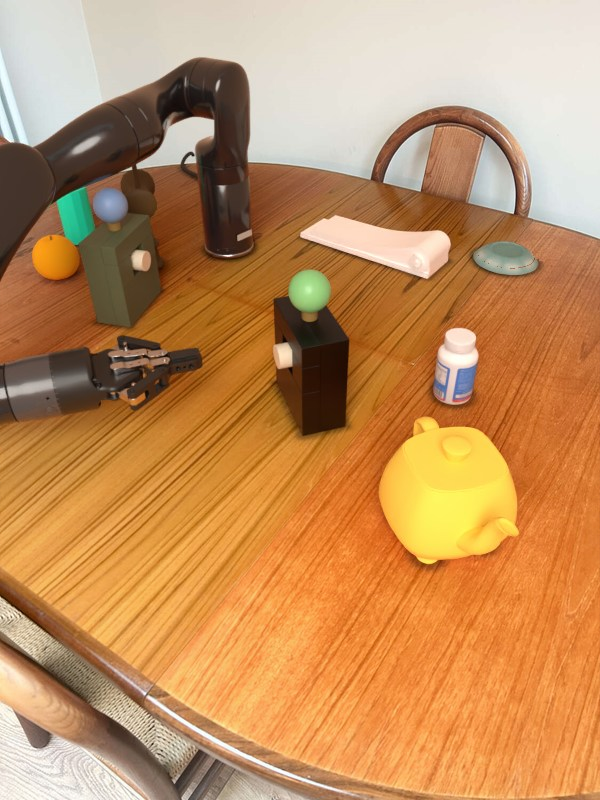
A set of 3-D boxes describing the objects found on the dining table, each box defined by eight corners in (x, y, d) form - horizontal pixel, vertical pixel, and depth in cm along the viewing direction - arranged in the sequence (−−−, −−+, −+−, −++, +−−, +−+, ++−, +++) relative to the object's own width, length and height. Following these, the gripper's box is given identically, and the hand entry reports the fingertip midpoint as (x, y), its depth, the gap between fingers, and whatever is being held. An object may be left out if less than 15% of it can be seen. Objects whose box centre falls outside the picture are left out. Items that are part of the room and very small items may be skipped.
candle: (89, 246, 128) (75, 186, 121) (60, 243, 129) (45, 184, 122) (102, 232, 133) (89, 174, 125) (74, 230, 134) (60, 172, 126)
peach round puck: (152, 265, 106) (149, 247, 104) (143, 274, 104) (140, 256, 102) (138, 263, 107) (135, 245, 105) (130, 273, 105) (126, 254, 102)
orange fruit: (35, 288, 116) (23, 249, 111) (40, 267, 122) (29, 229, 117) (81, 283, 117) (72, 244, 112) (84, 262, 123) (75, 225, 118)
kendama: (165, 253, 126) (149, 147, 113) (169, 276, 119) (152, 166, 106) (133, 256, 125) (113, 150, 112) (135, 281, 118) (114, 170, 105)
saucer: (469, 234, 126) (468, 245, 127) (481, 264, 117) (479, 275, 118) (531, 234, 125) (529, 245, 127) (548, 264, 116) (545, 275, 118)
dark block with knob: (302, 436, 86) (301, 301, 73) (276, 382, 94) (271, 253, 81) (345, 426, 87) (351, 292, 74) (315, 374, 96) (317, 246, 83)
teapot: (461, 461, 82) (478, 381, 74) (551, 595, 67) (584, 513, 59) (357, 484, 79) (363, 403, 71) (427, 629, 64) (444, 547, 56)
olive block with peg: (161, 291, 115) (143, 175, 102) (130, 327, 106) (106, 206, 93) (130, 286, 116) (108, 172, 103) (97, 322, 107) (68, 202, 94)
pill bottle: (473, 386, 93) (485, 328, 87) (468, 409, 89) (480, 351, 83) (435, 378, 95) (444, 321, 89) (428, 401, 91) (437, 343, 85)
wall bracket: (324, 187, 130) (453, 223, 117) (328, 217, 136) (451, 255, 123) (295, 216, 125) (426, 257, 113) (300, 246, 131) (426, 288, 119)
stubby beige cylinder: (280, 374, 84) (279, 353, 82) (273, 360, 86) (272, 340, 84) (298, 370, 84) (298, 350, 82) (290, 356, 87) (290, 336, 85)
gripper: (47, 393, 69) (209, 362, 73) (44, 328, 79) (187, 304, 83) (63, 445, 74) (215, 414, 78) (59, 377, 83) (194, 352, 87)
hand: (200, 357), depth 80 cm, fingers closed
